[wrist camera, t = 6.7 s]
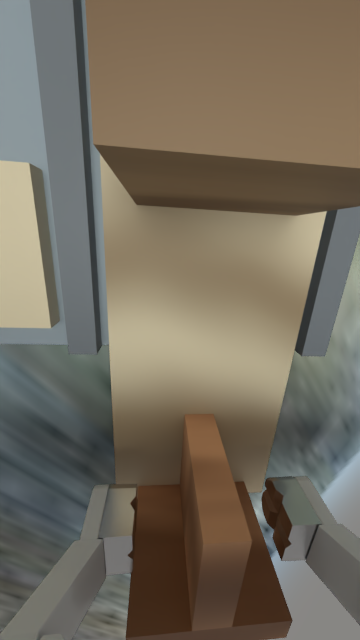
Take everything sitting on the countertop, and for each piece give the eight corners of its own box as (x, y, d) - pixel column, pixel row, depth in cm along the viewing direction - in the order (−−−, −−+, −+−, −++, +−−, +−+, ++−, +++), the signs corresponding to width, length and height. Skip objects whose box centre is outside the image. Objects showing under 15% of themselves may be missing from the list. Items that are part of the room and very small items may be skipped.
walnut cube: (295, 215, 8) (518, 182, 3) (136, 204, 7) (93, 144, 2) (338, -2, 6) (1012, -900, 1) (135, -35, 5) (-7, -1665, 1)
